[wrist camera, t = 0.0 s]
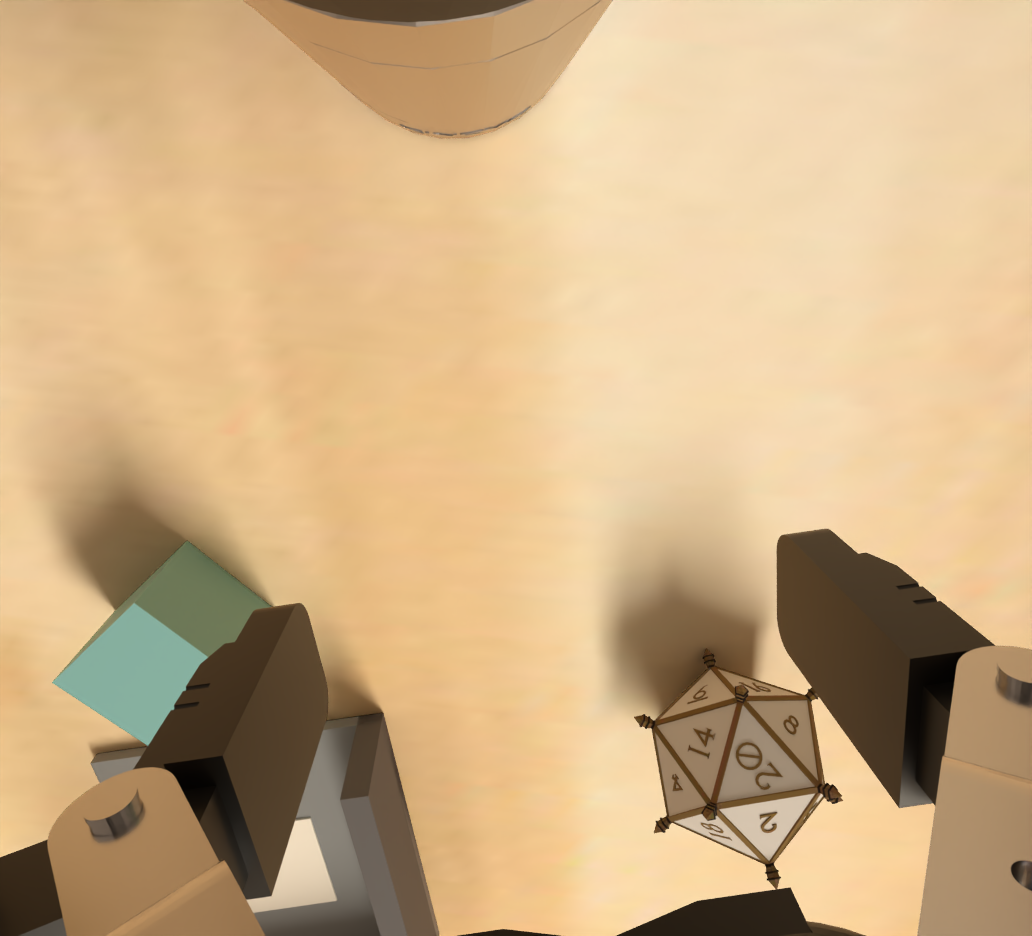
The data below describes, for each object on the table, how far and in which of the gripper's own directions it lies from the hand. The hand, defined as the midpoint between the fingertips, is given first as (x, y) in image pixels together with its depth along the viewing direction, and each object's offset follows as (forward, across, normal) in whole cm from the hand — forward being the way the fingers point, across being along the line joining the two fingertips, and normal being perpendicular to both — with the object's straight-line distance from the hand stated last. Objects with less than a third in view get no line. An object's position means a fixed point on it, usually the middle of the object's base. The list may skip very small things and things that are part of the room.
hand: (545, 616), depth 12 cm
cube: (+18, +15, +8) cm, 25 cm away
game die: (+18, -8, +17) cm, 26 cm away
